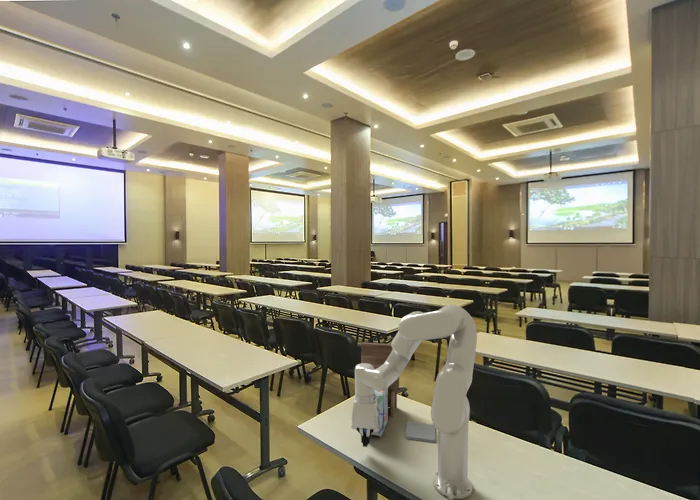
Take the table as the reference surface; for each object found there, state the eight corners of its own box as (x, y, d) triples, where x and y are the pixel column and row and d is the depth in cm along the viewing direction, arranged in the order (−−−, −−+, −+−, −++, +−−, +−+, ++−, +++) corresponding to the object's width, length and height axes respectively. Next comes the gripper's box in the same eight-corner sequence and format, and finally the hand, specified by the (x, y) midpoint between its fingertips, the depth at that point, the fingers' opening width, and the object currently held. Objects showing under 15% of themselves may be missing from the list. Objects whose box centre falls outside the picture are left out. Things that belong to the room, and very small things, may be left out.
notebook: (435, 444, 136) (435, 440, 136) (405, 440, 138) (405, 436, 138) (434, 428, 147) (434, 424, 147) (407, 425, 150) (407, 421, 150)
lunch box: (367, 408, 164) (367, 364, 164) (388, 410, 162) (388, 365, 162) (360, 440, 136) (361, 387, 136) (386, 443, 135) (386, 389, 135)
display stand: (395, 416, 156) (395, 350, 156) (357, 412, 160) (358, 347, 160) (396, 407, 166) (397, 344, 165) (361, 403, 170) (361, 342, 169)
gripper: (385, 394, 130) (386, 441, 130) (348, 391, 133) (348, 437, 133) (382, 403, 122) (383, 453, 122) (343, 399, 126) (344, 448, 126)
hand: (365, 444), depth 128 cm, fingers closed
